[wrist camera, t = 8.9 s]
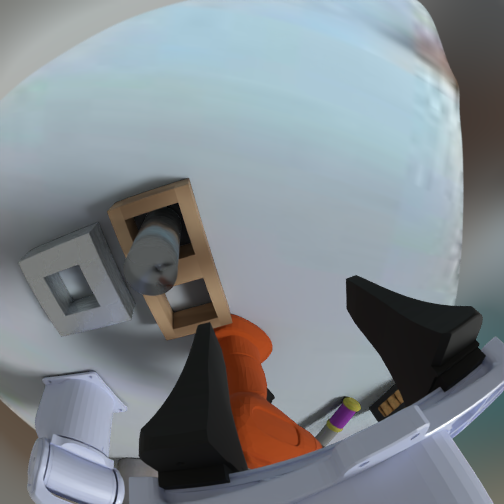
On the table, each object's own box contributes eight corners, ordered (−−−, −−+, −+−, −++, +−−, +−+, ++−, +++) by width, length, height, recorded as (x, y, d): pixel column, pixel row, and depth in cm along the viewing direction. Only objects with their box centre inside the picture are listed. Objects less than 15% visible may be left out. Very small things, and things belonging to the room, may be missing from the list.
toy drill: (304, 402, 33) (337, 496, 19) (192, 329, 27) (182, 464, 13) (333, 382, 32) (378, 475, 18) (226, 298, 26) (239, 437, 12)
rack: (228, 306, 25) (232, 322, 23) (167, 323, 25) (166, 340, 22) (189, 177, 20) (188, 183, 18) (115, 202, 19) (107, 211, 17)
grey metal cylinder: (150, 247, 21) (134, 300, 15) (139, 212, 20) (115, 253, 13) (185, 238, 22) (184, 289, 15) (176, 202, 20) (168, 240, 14)
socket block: (68, 321, 22) (61, 336, 20) (30, 250, 19) (18, 262, 17) (135, 303, 23) (131, 319, 21) (98, 222, 19) (88, 233, 17)
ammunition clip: (373, 408, 42) (401, 455, 32) (368, 407, 42) (396, 456, 31) (414, 370, 40) (449, 415, 29) (410, 368, 39) (446, 415, 28)
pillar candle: (150, 476, 41) (155, 534, 27) (109, 463, 36) (109, 526, 23) (176, 466, 39) (185, 532, 26) (131, 452, 35) (134, 525, 22)
